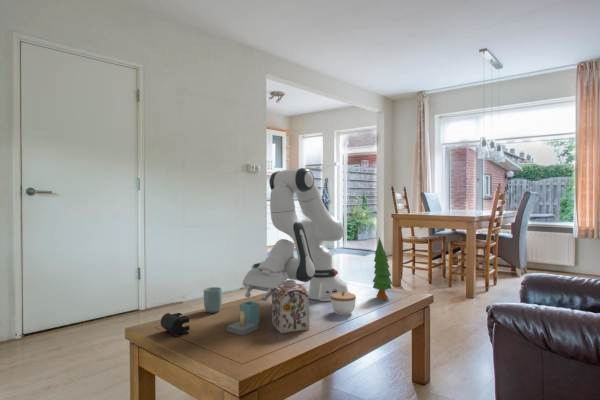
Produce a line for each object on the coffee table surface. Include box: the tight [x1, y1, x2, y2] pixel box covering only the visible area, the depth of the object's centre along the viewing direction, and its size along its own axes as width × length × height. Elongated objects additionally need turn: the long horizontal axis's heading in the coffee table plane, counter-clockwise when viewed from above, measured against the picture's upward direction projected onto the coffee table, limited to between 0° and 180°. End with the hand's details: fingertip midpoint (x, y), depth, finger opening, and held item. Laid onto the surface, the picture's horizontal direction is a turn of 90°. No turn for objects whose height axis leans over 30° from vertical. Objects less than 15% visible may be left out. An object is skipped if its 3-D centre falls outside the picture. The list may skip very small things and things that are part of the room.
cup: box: [203, 286, 223, 314], centre depth 176 cm, size 8×8×10 cm
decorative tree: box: [372, 237, 393, 300], centre depth 195 cm, size 10×9×30 cm
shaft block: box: [226, 311, 258, 336], centre depth 150 cm, size 8×8×7 cm
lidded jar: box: [330, 291, 357, 316], centre depth 171 cm, size 11×11×9 cm
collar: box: [239, 300, 260, 325], centre depth 158 cm, size 5×5×8 cm
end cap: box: [160, 312, 190, 337], centre depth 149 cm, size 10×7×7 cm
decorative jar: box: [271, 279, 311, 334], centre depth 153 cm, size 12×12×18 cm
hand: (254, 298), depth 161 cm, fingers open, 8 cm apart
